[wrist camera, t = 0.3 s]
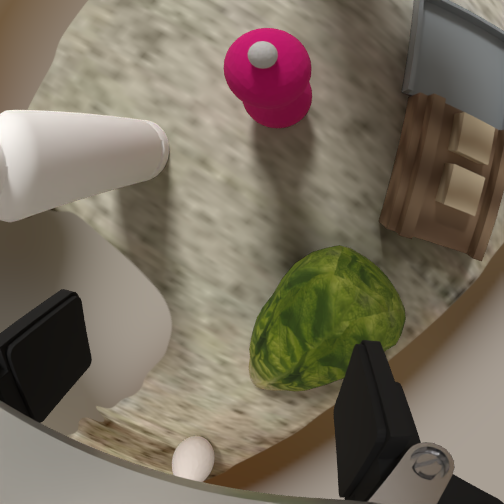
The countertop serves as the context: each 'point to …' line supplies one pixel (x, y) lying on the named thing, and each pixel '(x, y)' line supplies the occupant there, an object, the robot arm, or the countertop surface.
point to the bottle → (72, 158)
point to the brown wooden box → (428, 179)
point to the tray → (457, 59)
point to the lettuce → (322, 320)
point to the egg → (193, 459)
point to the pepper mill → (270, 76)
